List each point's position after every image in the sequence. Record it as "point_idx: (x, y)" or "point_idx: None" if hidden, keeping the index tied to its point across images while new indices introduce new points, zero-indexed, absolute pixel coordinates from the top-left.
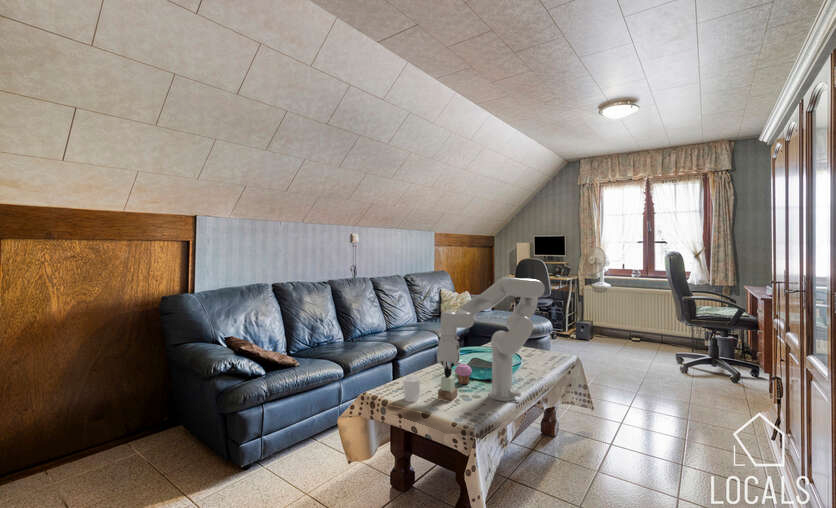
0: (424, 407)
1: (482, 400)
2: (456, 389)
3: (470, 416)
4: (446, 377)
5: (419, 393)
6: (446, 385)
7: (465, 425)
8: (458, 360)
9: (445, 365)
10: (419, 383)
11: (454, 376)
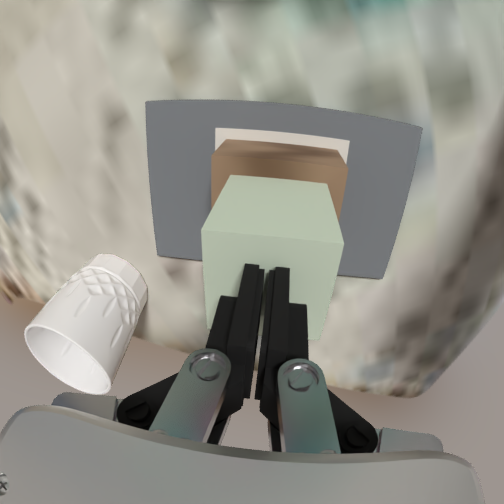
0: (208, 331)
1: (488, 149)
2: (344, 187)
3: (420, 341)
4: (261, 321)
5: (130, 299)
6: None
7: (397, 390)
8: (453, 465)
9: (222, 437)
10: (114, 360)
11: (341, 255)
